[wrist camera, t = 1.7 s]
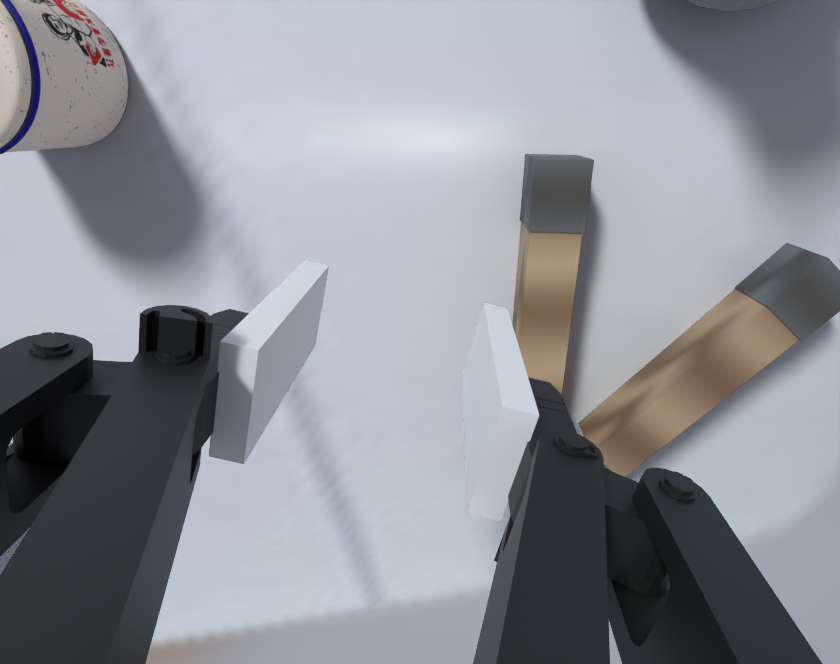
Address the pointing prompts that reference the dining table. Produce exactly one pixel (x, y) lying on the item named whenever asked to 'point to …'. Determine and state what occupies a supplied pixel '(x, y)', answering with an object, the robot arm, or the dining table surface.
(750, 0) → the coffee pot
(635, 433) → the tongs lower arm
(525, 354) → the bar
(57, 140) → the teacup with lid
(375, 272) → the dining table surface
